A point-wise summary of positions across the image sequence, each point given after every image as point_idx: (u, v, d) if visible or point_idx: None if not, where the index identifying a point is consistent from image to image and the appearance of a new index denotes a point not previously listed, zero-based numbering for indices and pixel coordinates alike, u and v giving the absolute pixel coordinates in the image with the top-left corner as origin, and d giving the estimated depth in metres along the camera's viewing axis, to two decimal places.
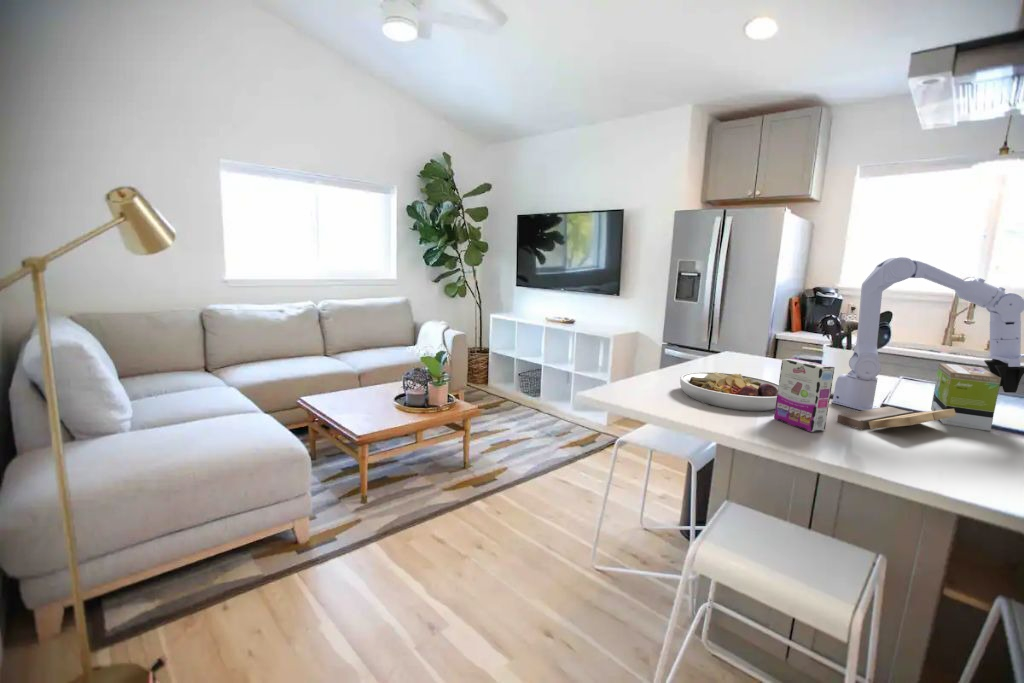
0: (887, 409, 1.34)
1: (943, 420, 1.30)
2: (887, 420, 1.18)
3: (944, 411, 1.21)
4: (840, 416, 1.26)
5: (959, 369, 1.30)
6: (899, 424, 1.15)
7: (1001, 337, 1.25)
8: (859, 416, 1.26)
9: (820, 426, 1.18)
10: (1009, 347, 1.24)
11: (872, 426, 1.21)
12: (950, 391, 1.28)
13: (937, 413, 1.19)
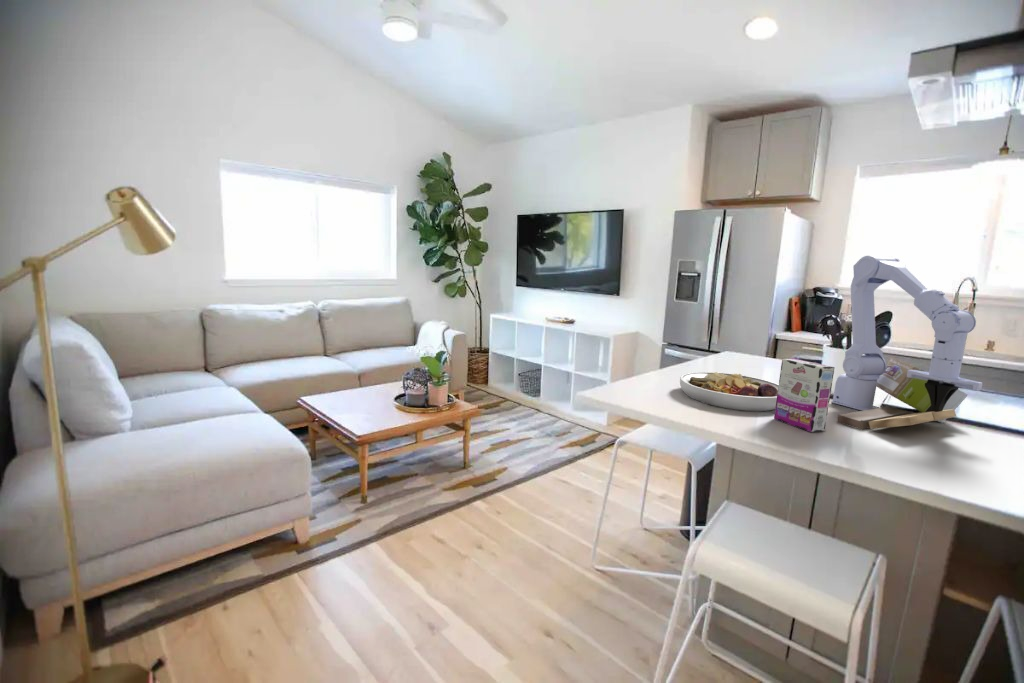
0: (887, 409, 1.34)
1: (939, 421, 1.30)
2: (887, 420, 1.18)
3: (944, 412, 1.21)
4: (840, 416, 1.26)
5: (888, 383, 1.37)
6: (899, 424, 1.15)
7: (933, 355, 1.21)
8: (859, 416, 1.26)
9: (820, 426, 1.18)
10: None
11: (872, 426, 1.21)
12: (909, 403, 1.31)
13: (937, 414, 1.19)
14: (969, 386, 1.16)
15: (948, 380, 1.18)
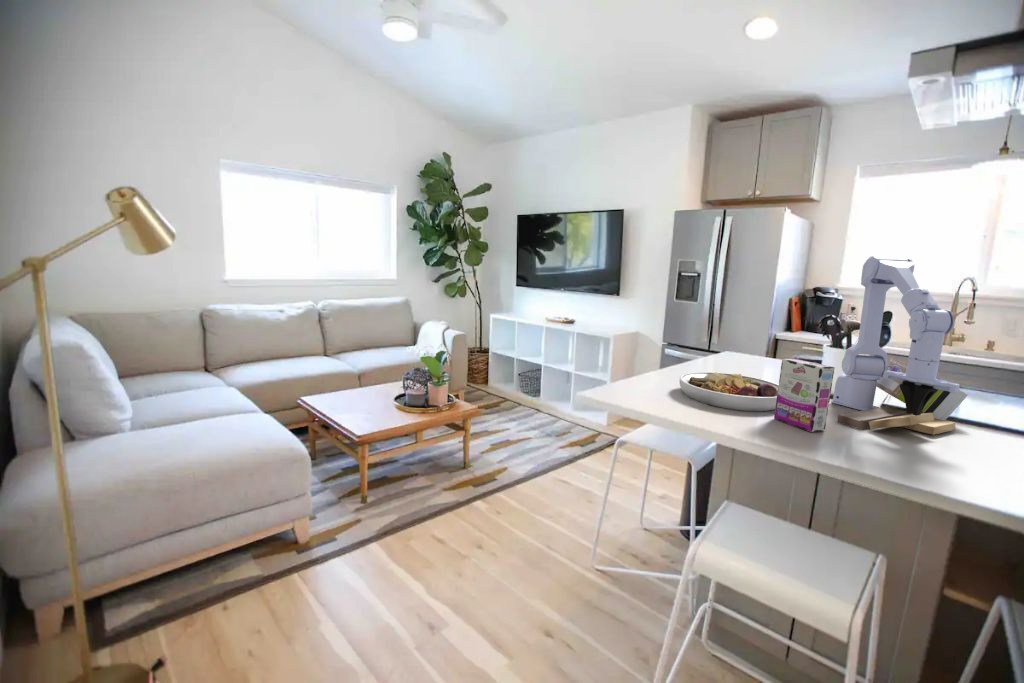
0: (887, 409, 1.34)
1: None
2: (887, 420, 1.18)
3: (945, 425, 1.21)
4: (840, 416, 1.26)
5: (888, 383, 1.37)
6: (899, 424, 1.15)
7: (909, 355, 1.17)
8: (859, 416, 1.26)
9: (820, 426, 1.18)
10: None
11: (872, 426, 1.21)
12: None
13: (938, 428, 1.19)
14: (946, 388, 1.11)
15: (925, 382, 1.13)
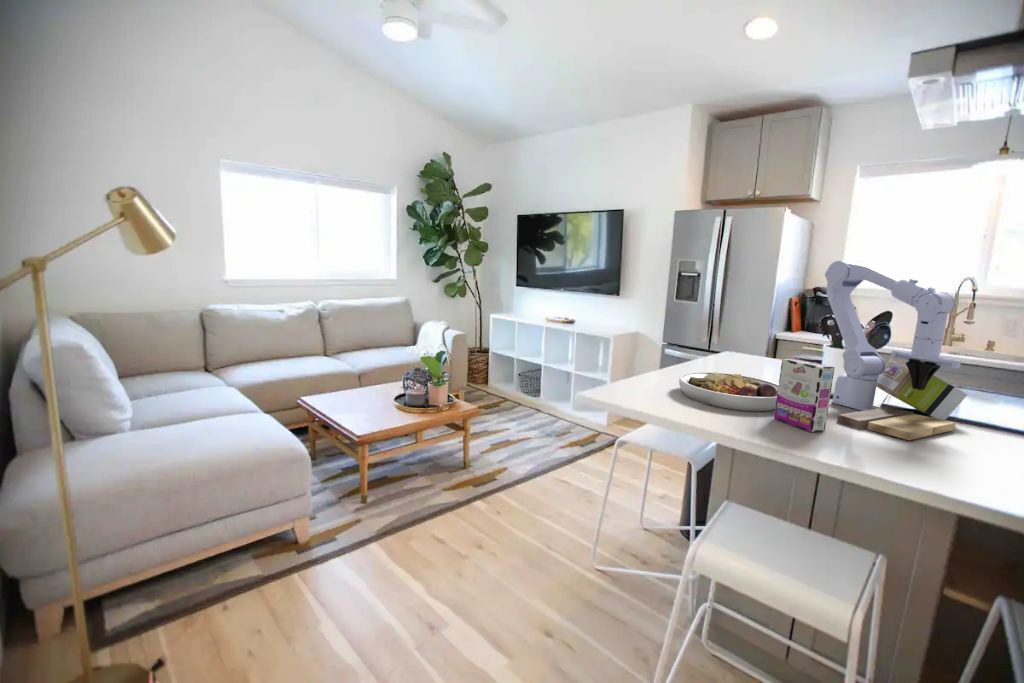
0: (887, 409, 1.34)
1: None
2: (887, 427, 1.18)
3: (945, 425, 1.21)
4: (840, 416, 1.26)
5: (888, 382, 1.37)
6: (897, 435, 1.16)
7: (916, 335, 1.26)
8: (859, 416, 1.26)
9: (820, 426, 1.18)
10: None
11: (870, 427, 1.21)
12: (910, 403, 1.31)
13: (938, 428, 1.19)
14: (948, 364, 1.22)
15: (929, 359, 1.23)
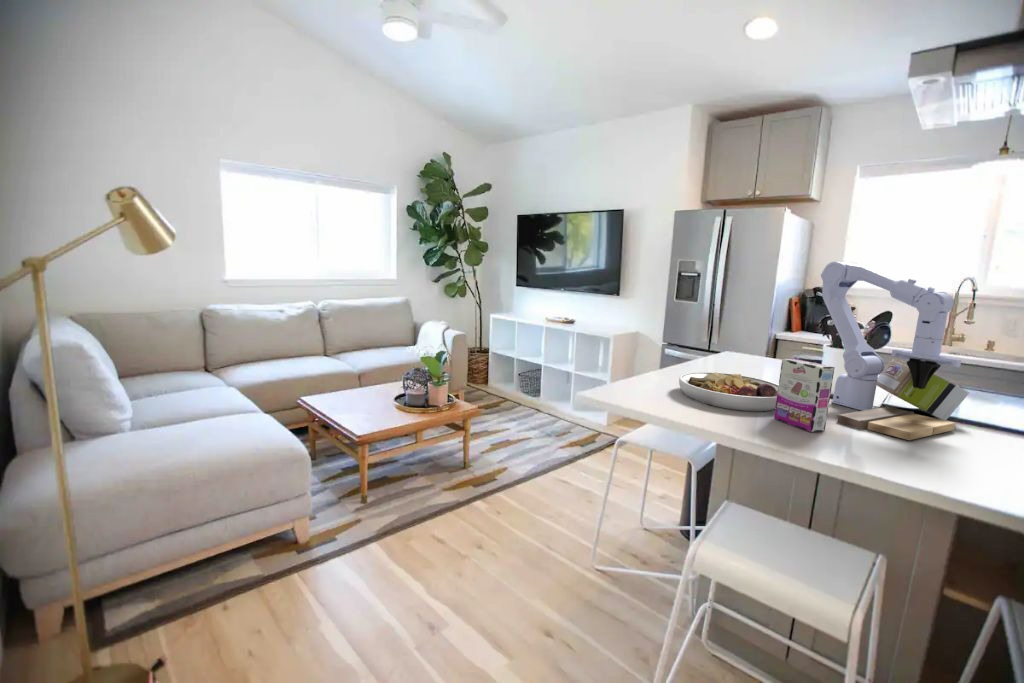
0: (887, 409, 1.34)
1: (941, 419, 1.31)
2: (887, 427, 1.18)
3: (945, 425, 1.21)
4: (840, 416, 1.26)
5: (889, 382, 1.38)
6: (897, 435, 1.16)
7: (917, 335, 1.27)
8: (859, 416, 1.26)
9: (820, 426, 1.18)
10: None
11: (870, 427, 1.21)
12: (911, 402, 1.32)
13: (938, 428, 1.19)
14: (949, 363, 1.23)
15: (929, 358, 1.25)
